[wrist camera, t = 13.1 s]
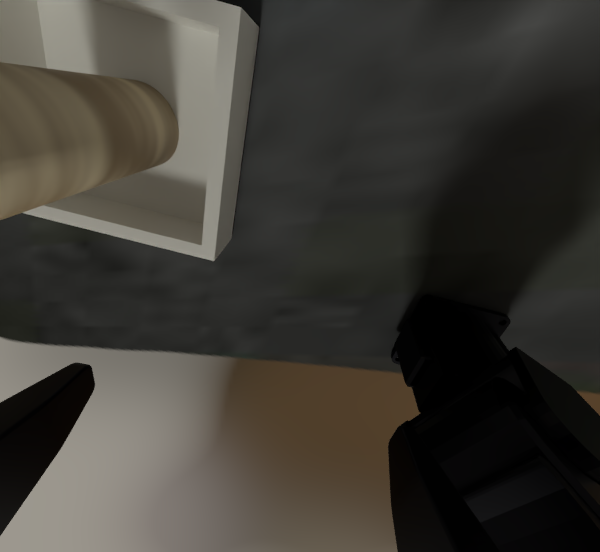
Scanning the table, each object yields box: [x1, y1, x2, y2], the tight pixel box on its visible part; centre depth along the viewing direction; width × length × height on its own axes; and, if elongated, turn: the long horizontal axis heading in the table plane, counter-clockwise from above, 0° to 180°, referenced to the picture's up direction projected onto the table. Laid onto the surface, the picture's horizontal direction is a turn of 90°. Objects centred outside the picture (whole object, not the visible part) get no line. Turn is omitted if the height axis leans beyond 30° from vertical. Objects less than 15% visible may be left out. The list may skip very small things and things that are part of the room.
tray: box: [0, 0, 259, 261], centre depth 16 cm, size 12×12×4 cm
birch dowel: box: [0, 62, 179, 220], centre depth 12 cm, size 4×4×13 cm
